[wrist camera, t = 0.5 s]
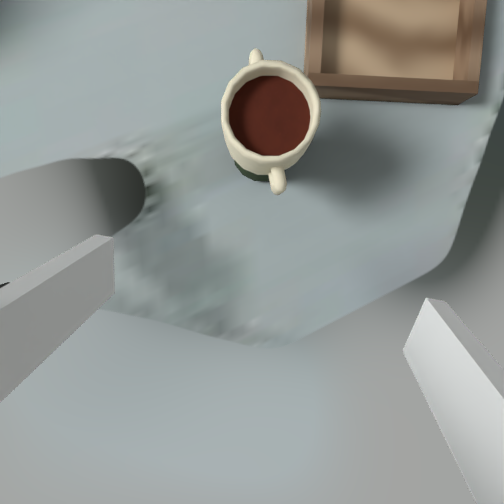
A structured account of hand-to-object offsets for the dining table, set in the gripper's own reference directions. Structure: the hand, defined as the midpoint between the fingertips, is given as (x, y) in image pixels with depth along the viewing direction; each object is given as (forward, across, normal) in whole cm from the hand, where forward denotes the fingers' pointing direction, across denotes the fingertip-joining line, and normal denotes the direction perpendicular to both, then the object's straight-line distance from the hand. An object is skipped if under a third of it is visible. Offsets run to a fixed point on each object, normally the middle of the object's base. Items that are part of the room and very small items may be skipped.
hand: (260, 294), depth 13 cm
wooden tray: (+30, +8, +17) cm, 36 cm away
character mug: (+25, -3, +3) cm, 25 cm away
